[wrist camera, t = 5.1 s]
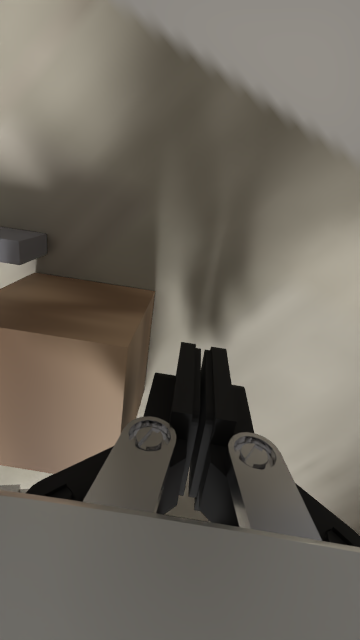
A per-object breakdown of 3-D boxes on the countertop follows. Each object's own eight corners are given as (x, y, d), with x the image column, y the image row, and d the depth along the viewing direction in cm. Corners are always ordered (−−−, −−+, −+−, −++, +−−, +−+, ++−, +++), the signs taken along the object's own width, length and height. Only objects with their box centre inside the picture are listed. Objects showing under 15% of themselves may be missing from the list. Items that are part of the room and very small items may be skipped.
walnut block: (155, 291, 13) (127, 347, 8) (143, 392, 15) (116, 484, 10) (34, 272, 13) (-60, 318, 8) (39, 375, 15) (-36, 459, 10)
